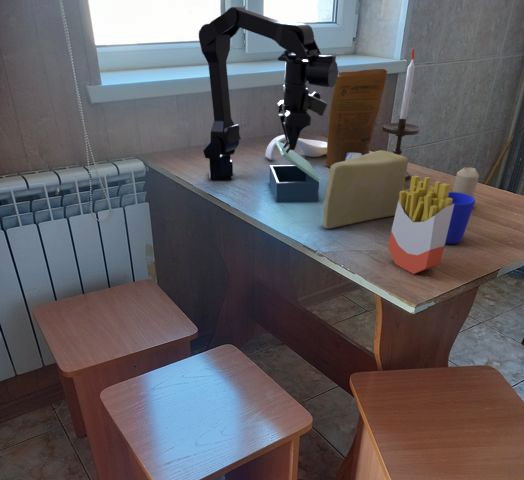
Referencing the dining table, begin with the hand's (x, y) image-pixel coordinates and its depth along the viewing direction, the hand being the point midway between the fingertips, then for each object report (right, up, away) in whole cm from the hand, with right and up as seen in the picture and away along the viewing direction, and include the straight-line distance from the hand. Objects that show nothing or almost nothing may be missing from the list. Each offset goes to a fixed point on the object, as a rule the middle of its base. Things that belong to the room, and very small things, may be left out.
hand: (290, 146), depth 139 cm
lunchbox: (+1, -10, +7) cm, 12 cm away
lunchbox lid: (+1, -3, +2) cm, 4 cm away
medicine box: (+18, -7, +12) cm, 23 cm away
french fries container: (+24, -38, -31) cm, 54 cm away
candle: (+46, -16, 0) cm, 49 cm away
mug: (+33, -30, -19) cm, 49 cm away
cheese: (+16, -22, -9) cm, 29 cm away
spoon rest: (+5, +12, +38) cm, 40 cm away
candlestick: (+33, -1, +21) cm, 40 cm away
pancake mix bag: (+21, +6, +31) cm, 38 cm away
